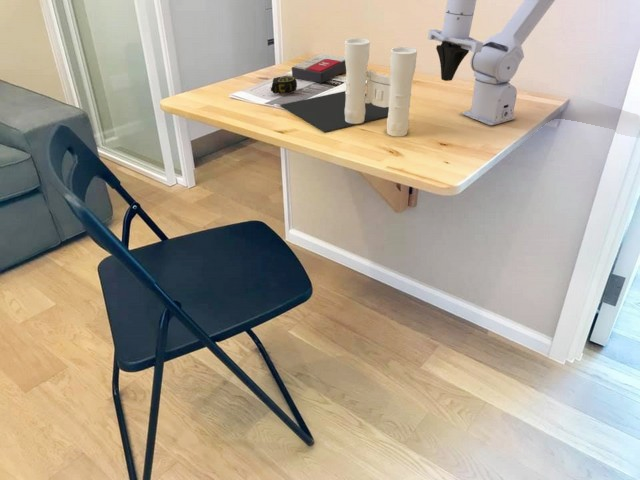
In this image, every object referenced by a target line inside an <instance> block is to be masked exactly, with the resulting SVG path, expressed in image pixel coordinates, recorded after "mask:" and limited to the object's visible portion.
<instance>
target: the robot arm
mask: <svg viewBox="0 0 640 480" xmlns="http://www.w3.org/2000/svg"><path fill="white" fill-rule="evenodd" d="M446 1H447V2H446V7H445V12H444V19H443V24H442V30H441V29H440V30H439V29H429V30H428V35H427V40H430V41H437V42H440V44H436V48H435V50H436V52H437V54H438V59H439V66H440V78H441V80H442V81H444V82H448V81H449V82H450V81H453V79H454V77H455V75H456V72H457V70H458V68H459V66H460V64H461V63H462V61H463V60H464V59H465V57H467V55H468V54H469V52H472V55H471V56H470V61H469V62H470V63H469V64H470V68H471V70H472V71H473V77H475V78H474V85H473V92H472V99H471V105H470V110H465V111H463V112H462V115H463V116H466V117H467V118H471V119H473V120H475V121H478V122H481V123H483V124H485V125H488V126H495V125H498V124H499V125H500V124H502V123H507V122H509V121H513V120H515V116H514V112H515V105H516V101H517V94H518V92H517V88H516V86H515V85H512V84H511V83H510V82H511V79H512V78H513V77H514V76H515V75H516V73H517V71H518V69H519V66H520V64H521V62H522V60H523V59H524V58H525V53H524V49H523V47H522V45H523V44H524V43H525V41H526V40H527V39H528V38H529V36H530V35H531V33H532V32H533V31H534V29H535V28H536V27H537V26H538V24H539V23H540V21H541V20H542V18H543V17H544V16H545V15H546V13H547V12H548V10H549V9H550V8H551V7H552V5H553V4H554V3H555V1H556V0H523V1H522V3H521V4H520V6H519V7H517V9H516V10H515V12H514V13H513V14H512V16H511V18H510V19H509V20H508V22H507V23H506V24H505V26H504V27H503V28H502V30H501V31H500V32H498V33H496V34H493V35H490V36H489V37H487V39H486V40H485V41H484V42H482V41H479V40H477V39H475V38H472V37H470V34H471V29H472V24H473V18H474V14H475V10H476V5H477V0H446Z"/></svg>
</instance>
